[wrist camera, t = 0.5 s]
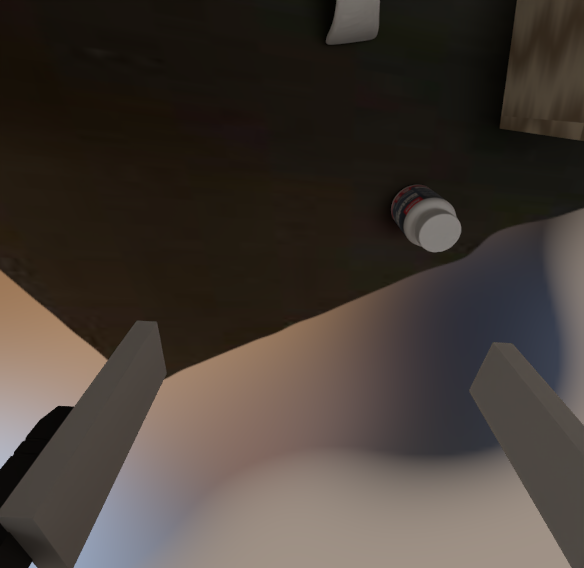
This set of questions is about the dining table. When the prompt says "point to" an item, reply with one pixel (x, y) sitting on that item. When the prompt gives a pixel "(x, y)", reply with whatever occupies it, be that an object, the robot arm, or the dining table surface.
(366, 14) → the spoon rest
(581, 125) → the stand
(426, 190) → the pill bottle
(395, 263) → the dining table surface
